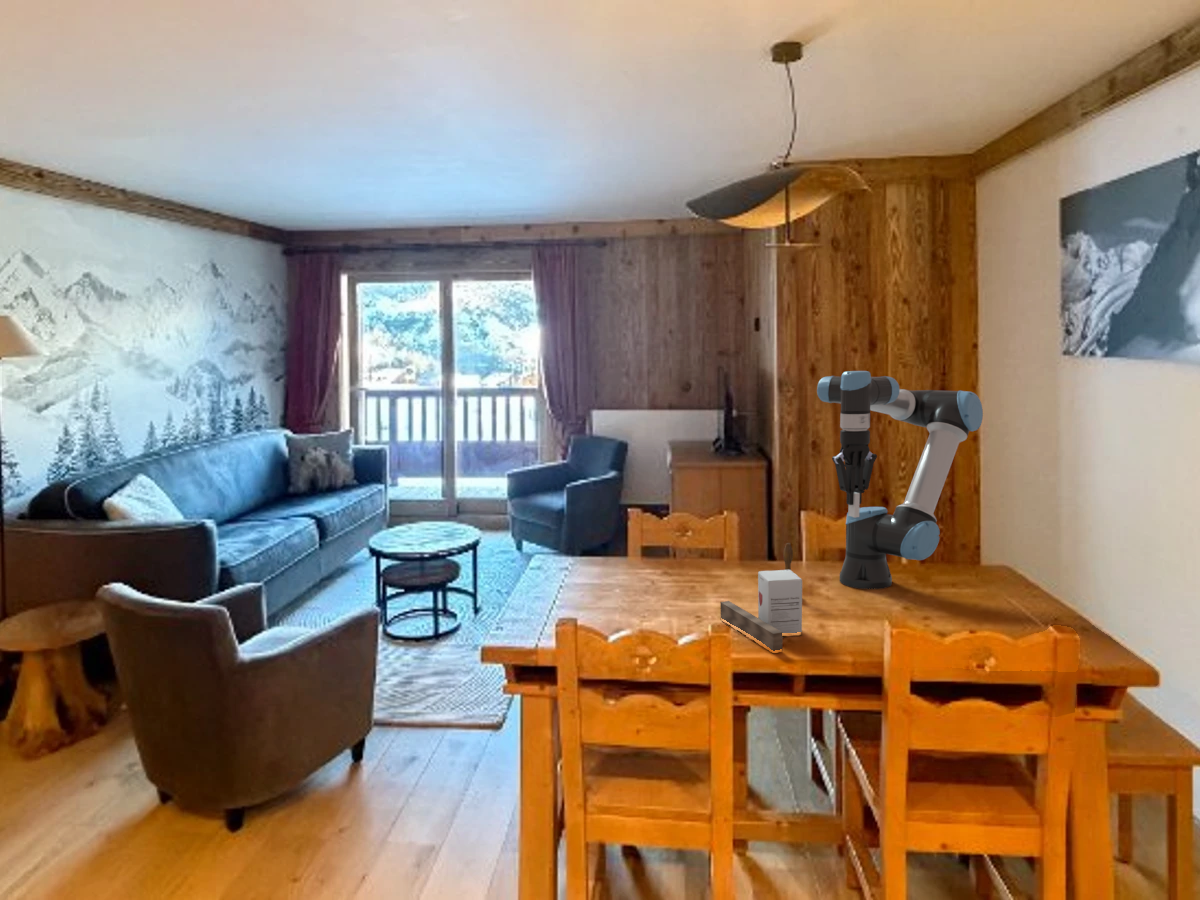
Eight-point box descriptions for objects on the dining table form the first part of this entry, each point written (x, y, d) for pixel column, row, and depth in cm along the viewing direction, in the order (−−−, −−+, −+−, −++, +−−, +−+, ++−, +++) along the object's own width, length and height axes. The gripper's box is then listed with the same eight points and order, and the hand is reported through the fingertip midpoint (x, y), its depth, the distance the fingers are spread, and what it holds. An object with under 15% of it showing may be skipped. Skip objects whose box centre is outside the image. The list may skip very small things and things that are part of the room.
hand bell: (804, 594, 234) (804, 541, 232) (798, 602, 227) (799, 547, 225) (776, 591, 238) (776, 538, 236) (769, 599, 231) (769, 545, 228)
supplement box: (757, 626, 209) (757, 570, 207) (790, 624, 210) (790, 568, 208) (767, 638, 200) (767, 580, 198) (802, 636, 201) (803, 578, 199)
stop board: (720, 620, 214) (720, 602, 213) (728, 618, 215) (728, 600, 214) (773, 654, 190) (773, 633, 189) (782, 652, 191) (782, 632, 190)
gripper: (843, 432, 207) (842, 521, 210) (884, 429, 211) (882, 516, 214) (825, 429, 214) (824, 516, 217) (866, 426, 218) (864, 511, 221)
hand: (853, 516), depth 215 cm, fingers closed
